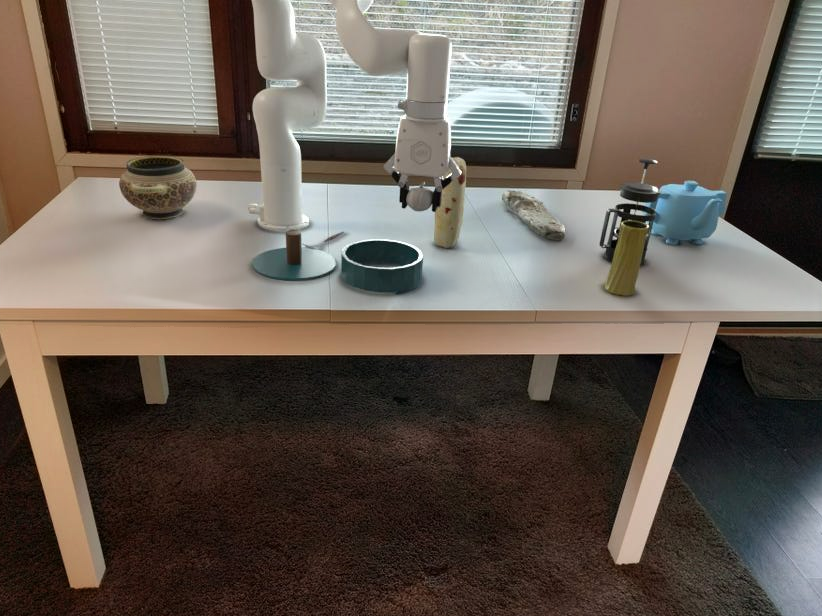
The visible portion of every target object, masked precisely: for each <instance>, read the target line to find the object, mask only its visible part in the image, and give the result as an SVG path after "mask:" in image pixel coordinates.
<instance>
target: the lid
mask: <svg viewBox="0 0 822 616" xmlns="http://www.w3.org/2000/svg"><path fill="white" fill-rule="evenodd" d="M251 261H252V262H251V267H252V269H253V271H254V272H256V273H257V274H258V275H261V276H263V277H265V278H267V279H268V278H269V279H272V280H278V281H288V282H289V281H290V282H298V281H300V282H301V281H310V280H314V279H319V278H322V277H324V276H327V275H329V274H330V273H333V271H334V270H335V269H336V267H337V261H336V259H335V257H334V256H332V255H331V254H329V253H328V252H326V251H323V250H319V249H317V248H316V249H313V248H309V247H303V243H302V232H301V231H300V230H299V229H297V230H289V231H285V247H279V248H273V249H270V250H269V249H268V250H266V251H264V252H261V253H259V254H257V255H256V256H255V257H254V258H253V259H252V260H251Z"/></svg>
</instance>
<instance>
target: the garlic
mask: <svg viewBox="0 0 822 616" xmlns="http://www.w3.org/2000/svg"><path fill="white" fill-rule="evenodd" d="M425 184H426V182H425V181H422V182H421V184H420V185H415V186H413V187H411V188H409V192H408V194H407V197H406V202H407V204H408V205H407V207H409V208H410V209H411V210H412V211H414V212H425V211H427V210H429V209H430V208H432V200H433V191H434V190H433V189H431V188H430V187H427V186H425Z"/></svg>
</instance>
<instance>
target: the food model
mask: <svg viewBox="0 0 822 616" xmlns="http://www.w3.org/2000/svg"><path fill="white" fill-rule="evenodd" d="M452 159H453V160H454V162H455V163H456V164H457V166H458V167H459V169H460V170H461V172H462V174H461V176H460V177H458V178H457V179H456V180H454V181H453V182H451V183H450V184H449V185H448V186H446V187H445V188H444V189H443V190H442V199H441V206H440V207H438V208H437V210H436V212H434V223H433V224H434V225H433V226H434V227H433V241H434V244H435V245H436V246H438V247H441V248H444V249H449V248H453V247H454V246H456V244H457V243H458V241H459V238H460V234H461V228H462V224H463V220H464V212H465V211H464V210H465V197H466V196H465V195H466V185H467V184H466V183H467V164H466V161H465V160H464V159H463V158H461V157H459V156H455V157H452ZM450 174H452V171H451V170H450V168H449V170H448V171H447V174H446V175H445V176H443V180H444V179H445V178H446V177H447V176H449V175H450Z"/></svg>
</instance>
